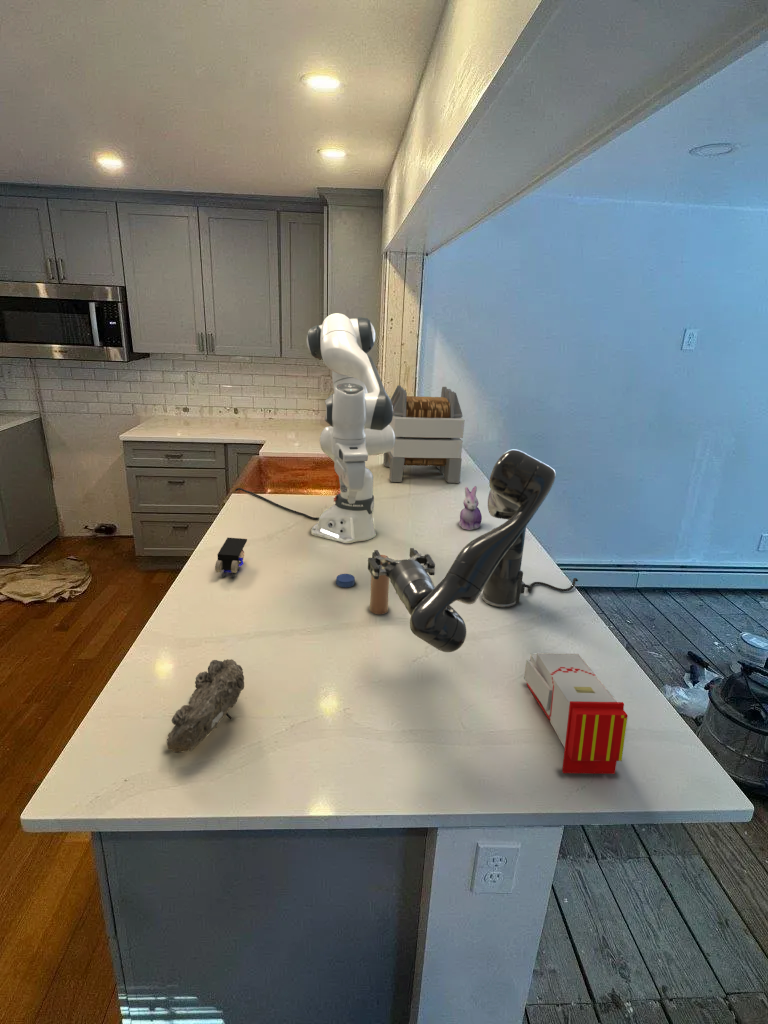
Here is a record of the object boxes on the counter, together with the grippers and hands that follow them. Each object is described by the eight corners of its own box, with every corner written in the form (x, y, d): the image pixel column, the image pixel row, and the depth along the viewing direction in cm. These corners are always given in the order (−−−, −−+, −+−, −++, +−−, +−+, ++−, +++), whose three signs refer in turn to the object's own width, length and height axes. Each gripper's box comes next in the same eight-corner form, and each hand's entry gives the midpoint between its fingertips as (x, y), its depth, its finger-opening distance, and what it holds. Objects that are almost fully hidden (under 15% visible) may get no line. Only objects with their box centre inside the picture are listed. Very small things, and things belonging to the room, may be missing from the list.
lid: (332, 582, 163) (332, 576, 162) (348, 577, 166) (348, 572, 165) (342, 589, 159) (342, 583, 158) (358, 584, 162) (358, 579, 161)
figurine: (467, 532, 204) (471, 492, 198) (451, 522, 212) (455, 484, 207) (488, 528, 208) (493, 489, 203) (472, 519, 216) (476, 482, 211)
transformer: (382, 463, 289) (386, 382, 275) (445, 464, 293) (451, 384, 279) (390, 482, 257) (394, 392, 243) (460, 483, 261) (468, 394, 247)
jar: (391, 612, 148) (393, 559, 143) (374, 615, 146) (377, 562, 141) (382, 603, 152) (385, 552, 147) (366, 607, 150) (368, 555, 145)
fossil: (192, 660, 117) (244, 628, 112) (224, 691, 120) (276, 661, 115) (142, 746, 98) (202, 712, 93) (182, 779, 101) (242, 748, 96)
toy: (573, 635, 123) (638, 710, 94) (567, 691, 126) (628, 782, 97) (518, 633, 123) (565, 709, 93) (513, 690, 125) (557, 781, 96)
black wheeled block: (238, 584, 162) (249, 557, 175) (236, 562, 158) (247, 536, 172) (215, 584, 161) (227, 556, 175) (212, 561, 158) (225, 535, 171)
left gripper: (329, 438, 157) (328, 486, 162) (344, 457, 139) (343, 510, 144) (351, 438, 159) (350, 485, 164) (369, 456, 141) (367, 508, 145)
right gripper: (447, 565, 117) (423, 536, 132) (379, 570, 114) (363, 539, 128) (444, 598, 120) (421, 565, 134) (378, 603, 116) (362, 569, 131)
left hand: (347, 497), depth 154 cm, fingers open, 8 cm apart
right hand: (393, 552), depth 131 cm, fingers open, 8 cm apart
